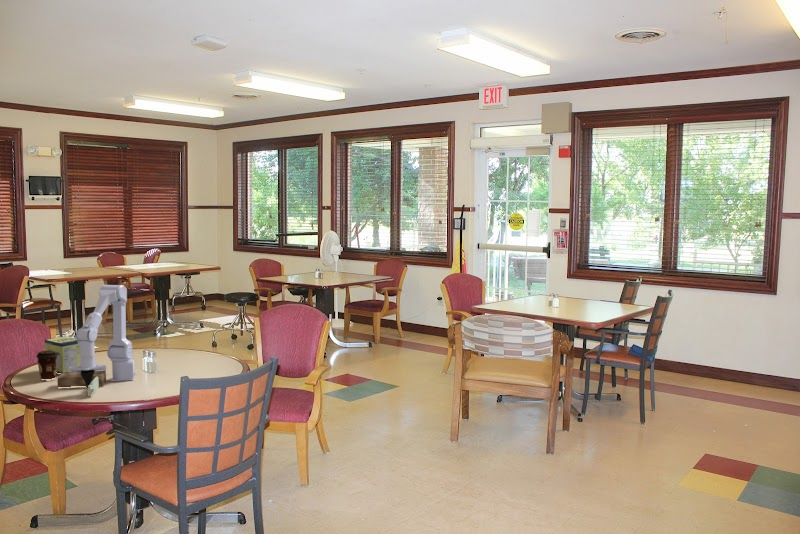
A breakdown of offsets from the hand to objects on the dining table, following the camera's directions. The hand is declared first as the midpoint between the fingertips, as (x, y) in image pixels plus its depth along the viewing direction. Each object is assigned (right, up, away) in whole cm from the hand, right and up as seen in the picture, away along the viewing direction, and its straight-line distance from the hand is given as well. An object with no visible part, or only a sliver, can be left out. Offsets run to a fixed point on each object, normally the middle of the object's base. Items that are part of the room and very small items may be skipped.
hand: (88, 387), depth 284 cm
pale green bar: (+2, -2, +2) cm, 3 cm away
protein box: (-29, +1, +37) cm, 47 cm away
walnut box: (-9, -1, +13) cm, 15 cm away
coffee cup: (-29, -1, +22) cm, 36 cm away
